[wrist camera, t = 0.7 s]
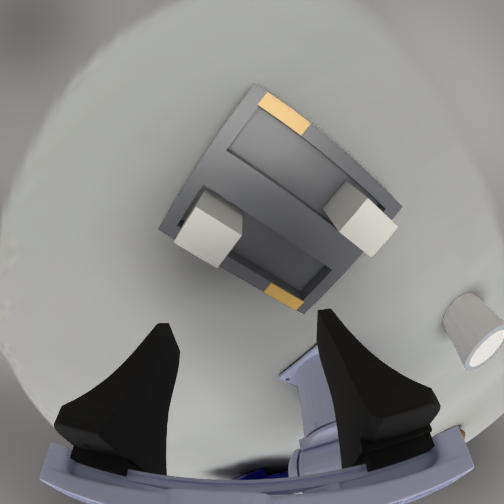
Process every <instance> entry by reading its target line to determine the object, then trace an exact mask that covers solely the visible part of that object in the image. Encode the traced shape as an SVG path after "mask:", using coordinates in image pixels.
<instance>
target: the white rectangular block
mask: <svg viewBox="0 0 504 504" xmlns="http://www.w3.org/2000/svg"><path fill="white" fill-rule="evenodd" d="M323 210H324V211H325V212H326V214H327V215H328V217H329V218H330V220H331V221H332V222H333V224H334V225H335V227H336V228H337V230H338V231H339V232H340V233H341V234H342V235H344V236H345V237H346V238H347V239H349V240H350V241H351V242H352V243H354V244H355V245H356V246H357V247H359V248H360V249H361V250H362V251H364V252H365V253H366V254H367V255H369V256H370V257H371V258H372V257H373V255H374V254H375V253H376V252H377V251H378V250H379V249H380V248H381V247H382V245H383V244H384V243H385V242H386V241H387V240H388V239H389V237H390V236H391V235H392V234H393V233H394V232H395V230H396V229H397V228H398V226H397V225H396V224H395V223H394V222H393V221H392V220H391V219H390V218H389V217H388V216H386V215H385V214H384V213H383V212H382V211H381V210H380V209H379V208H378V207H377V206H376V205H375V204H374V203H373V202H372V201H371V200H370V199H368V198H367V197H366V196H365V195H364V194H362V193H361V192H360V191H359V190H357V189H356V188H355V187H354V186H352V185H351V184H350V183H348V182H347V181H345V182H344V183H343V185H342V186H341V187H340V188H339V189H338V191H337V192H336V193H335V194H334V196H333V197H332V198H331V199H330V200H329V202H328V203H327V204H326V205H325V206H324V208H323Z"/></svg>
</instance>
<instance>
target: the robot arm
mask: <svg viewBox="0 0 504 504" xmlns="http://www.w3.org/2000/svg"><path fill="white" fill-rule="evenodd" d="M179 357H180V350H179V347H178V345H177V343H176V340H175V338H174V335H173V333H172V330H171V327H170V325H169V323H159V324H157V325H156V326H155V327H154V328H153V330H152V331H151V332H150V333H149V334H148V336H147V337H146V338H145V339H144V341H143V342H142V343H141V344H140V345H139V346H138V348H137V349H136V350H135V351H134V352H133V353H132V354H131V355H130V357H129V358H128V359H127V360H126V361H125V362H124V363H123V364H122V365H121V366H120V367H119V368H118V369H117V370H116V371H115V372H114V373H112V374H111V375H110V376H109V377H108V378H107V379H105V380H104V381H103V382H101V383H100V384H99V385H97V386H96V387H95V388H93V389H92V390H90V391H89V392H87V393H86V394H84V395H82V396H81V397H79V398H77V399H75V400H73V401H71V402H69V403H67V404H65V405H63V406H62V407H61V409H60V411H59V414H58V416H57V418H56V421H55V423H54V427H55V429H56V431H57V432H58V433H59V434H60V435H61V436H62V437H64V438H65V439H66V440H67V441H68V442H70V443H71V444H72V445H73V446H74V447H73V450H71V449H69V448H67V447H64V446H61V445H59V444H56V443H53V442H52V443H51V445H50V448H49V451H48V454H47V456H46V459H45V462H44V465H43V468H42V472H41V474H40V480H42V481H43V482H45V483H46V484H48V485H50V486H52V487H53V488H55V489H57V490H59V491H61V492H63V493H64V494H66V495H68V496H71V497H73V498H75V499H78V500H80V501H82V502H85V503H88V504H407V503H409V502H412V501H414V500H417V499H419V498H421V497H424V496H426V495H428V494H430V493H433V492H434V491H437V490H439V489H441V488H443V487H445V486H447V485H449V484H451V483H452V482H454V481H456V480H457V479H459V478H460V477H462V476H463V475H465V474H466V473H468V472H469V471H470V470H472V469H473V468H474V464H473V462H472V459H471V456H470V453H469V451H468V448H467V446H466V443H465V441H464V438H463V436H462V433H461V431H460V429H459V426H455V427H452V428H450V429H448V430H446V431H444V432H441V433H439V434H437V435H435V436H434V437H433V438H432V437H431V435H430V432H431V431H432V428H431V426H430V423H431V422H432V420H433V419H434V418H435V416H436V415H437V414H438V412H439V410H440V404H439V401H438V399H437V397H436V395H435V394H434V392H433V391H432V389H431V388H429V387H427V386H424V385H422V384H420V383H417V382H415V381H413V380H411V379H409V378H407V377H405V376H403V375H402V374H400V373H398V372H397V371H395V370H394V369H392V368H391V367H389V366H388V365H386V364H385V363H383V362H382V361H381V360H379V359H378V358H377V357H376V356H374V355H373V354H372V353H371V352H370V351H369V350H368V349H367V348H365V347H364V346H363V345H362V344H361V343H360V342H359V341H358V340H357V339H356V338H355V337H354V335H353V334H352V333H351V332H350V331H349V330H348V329H347V328H346V327H345V325H344V324H343V323H342V322H341V321H340V319H339V318H338V317H337V316H336V314H335V313H334V312H333V310H331V309H324V310H318V319H317V345H316V346H315V347H314V348H312V349H311V350H310V351H309V352H308V353H307V354H305V355H304V356H303V357H302V358H301V359H299V360H298V361H297V362H296V363H294V364H293V365H292V366H291V367H289V368H288V369H287V370H286V371H284V372H283V373H282V374H281V375H280V376H279V377H280V380H282V381H285V382H288V383H290V384H293V385H296V386H298V392H299V399H300V406H301V413H302V420H303V427H304V435H305V438H303V439H300V440H299V443H300V449H297V450H295V451H294V453H293V454H292V457H291V459H290V461H289V466H288V474H289V477H287V478H275V479H259V480H211V479H195V478H183V477H174V476H167V471H166V436H167V422H168V412H169V406H170V402H171V397H172V393H173V389H174V385H175V381H176V376H177V372H178V366H179ZM292 493H294V494H292ZM282 494H286V495H282Z"/></svg>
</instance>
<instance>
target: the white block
mask: <svg viewBox="0 0 504 504" xmlns="http://www.w3.org/2000/svg"><path fill="white" fill-rule="evenodd" d="M242 222H243V211H242V210H240V209H239V208H237V207H236V206H234V205H233V204H231V203H230V202H228V201H227V200H225V199H223V198H222V197H220V196H219V195H217V194H216V193H214V192H212V191H211V190H209V189H208V188H206V189H205V190H204V192H203V193H202V195H201V196H200V198H199V199H198V201H197V202H196V204H195V205H194V207H193V209H192V210H191V212H190V213H189V215H188V216H187V218H186V220H185V222H184V224H183V226H182V227H181V229H180V231H179V233H178V235H177V237H176V239H175V241H174V243H175V244H177V245H178V246H180V247H182V248H183V249H185V250H187V251H189V252H190V253H192V254H194V255H195V256H197V257H199V258H200V259H202V260H204V261H205V262H207V263H209V264H211V265H212V266H214V267H216V268H218V267H219V265H220V264H221V263H222V261H223V260H224V259H225V257H226V256H227V255H228V253H229V252H230V251H231V249H232V248H233V247H234V245H235V244H236V243H237V241H238V240H239V239H240V237H241V236H242Z"/></svg>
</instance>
